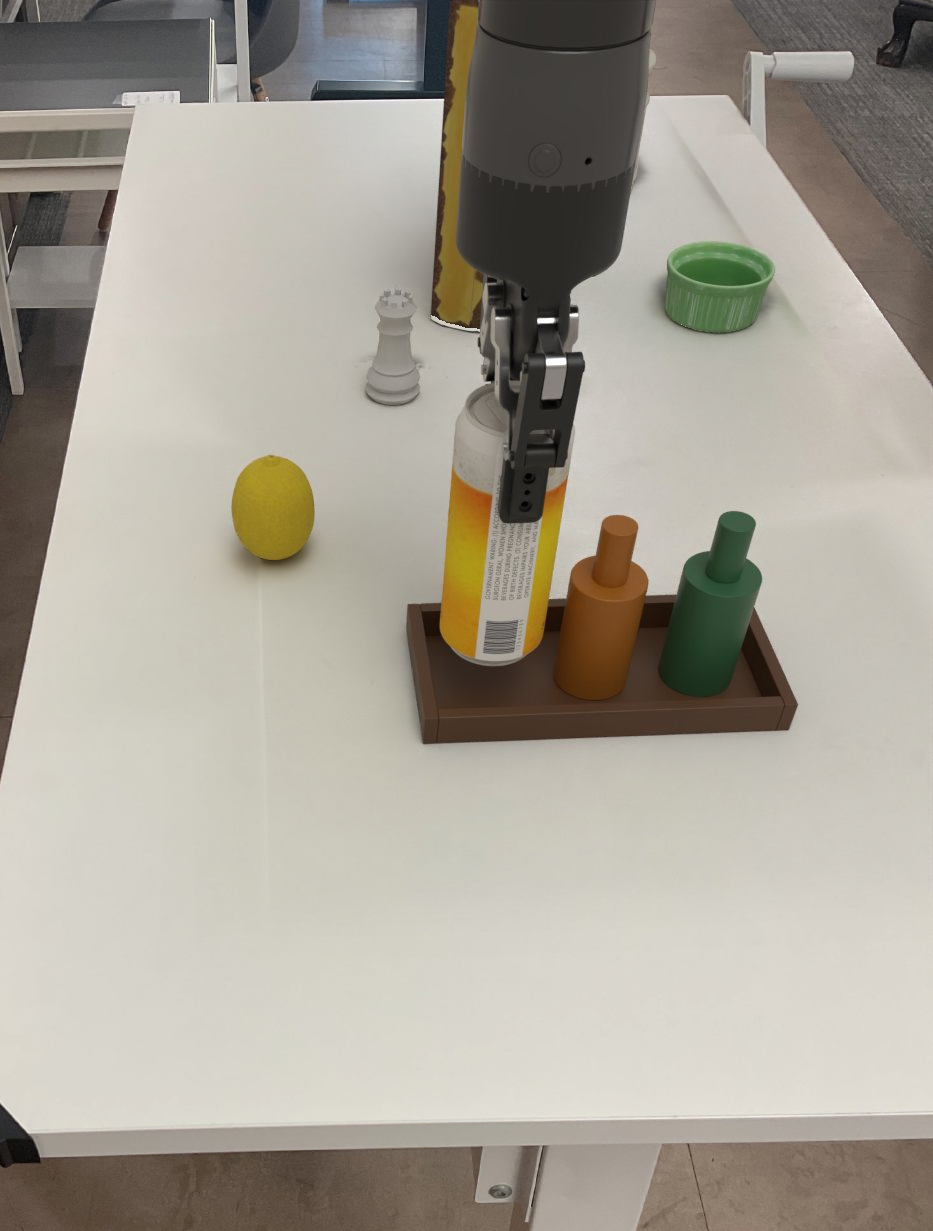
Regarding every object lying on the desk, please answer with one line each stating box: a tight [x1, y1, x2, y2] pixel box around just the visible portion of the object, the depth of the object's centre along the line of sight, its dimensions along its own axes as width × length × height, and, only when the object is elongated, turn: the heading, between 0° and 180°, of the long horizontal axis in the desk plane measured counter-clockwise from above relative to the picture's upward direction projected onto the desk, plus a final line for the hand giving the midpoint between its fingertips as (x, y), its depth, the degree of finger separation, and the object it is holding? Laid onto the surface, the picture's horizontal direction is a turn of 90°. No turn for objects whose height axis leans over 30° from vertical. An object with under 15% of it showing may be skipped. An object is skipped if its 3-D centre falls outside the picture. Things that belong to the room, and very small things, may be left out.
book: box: [430, 0, 484, 329], centre depth 106 cm, size 22×8×25 cm, turn 152°
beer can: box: [440, 381, 576, 666], centre depth 69 cm, size 6×6×15 cm
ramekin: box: [663, 240, 776, 334], centre depth 108 cm, size 9×9×4 cm
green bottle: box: [658, 510, 763, 697], centre depth 73 cm, size 4×4×11 cm
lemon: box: [230, 454, 316, 561], centre depth 83 cm, size 6×6×8 cm
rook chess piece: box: [364, 287, 421, 406], centre depth 98 cm, size 4×4×8 cm
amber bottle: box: [554, 514, 650, 701], centre depth 73 cm, size 4×4×11 cm
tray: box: [405, 593, 799, 745], centre depth 76 cm, size 22×11×3 cm, turn 93°
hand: (509, 481), depth 66 cm, fingers closed on beer can, 6 cm apart
